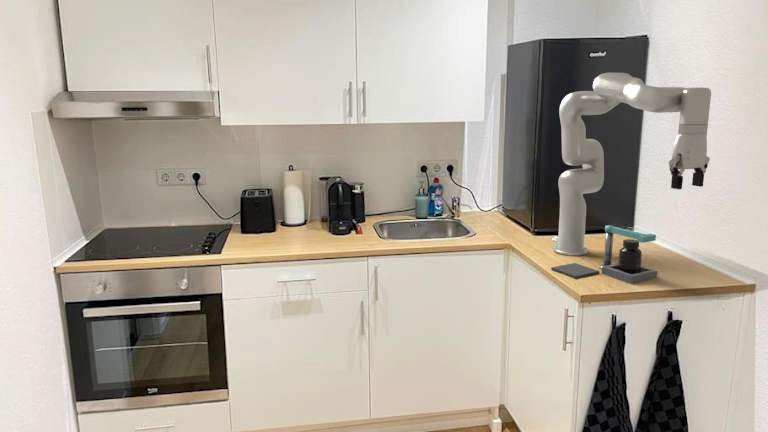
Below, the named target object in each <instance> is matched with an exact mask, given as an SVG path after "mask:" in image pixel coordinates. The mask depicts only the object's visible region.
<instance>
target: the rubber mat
mask: <svg viewBox="0 0 768 432" xmlns="http://www.w3.org/2000/svg"><path fill="white" fill-rule="evenodd" d="M550 269H551V271H554V272H557V273H558V274H561V275H565V276H566V277H570V278H573V279H580V278H585V277H588V276H589V277H590V276H593V275H599V274H600V270H596V269H594V268H590V267H588V266H585V265H583V264H580V263H577V262H573V263H572V262H571V263H567V264H562V265H558V266H552V267H551V268H550Z"/></svg>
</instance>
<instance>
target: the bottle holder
mask: <svg viewBox="0 0 768 432" xmlns="http://www.w3.org/2000/svg"><path fill="white" fill-rule="evenodd" d="M618 267H619V262H618V263H613V264H612V263H611V265H607V266H602V270H601V275H605V276H607V277H611V278H613V279H616V280H619V281H621V282H625V283H627V284H630V285H633V284H636V283H642V282H645V281H650V280H654V279H657V278H658V270H656V269H653V268H651V267H646V266H643V265H641V272H640V273H635V274H629V273H626V272H623V271H619V270H618Z"/></svg>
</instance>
